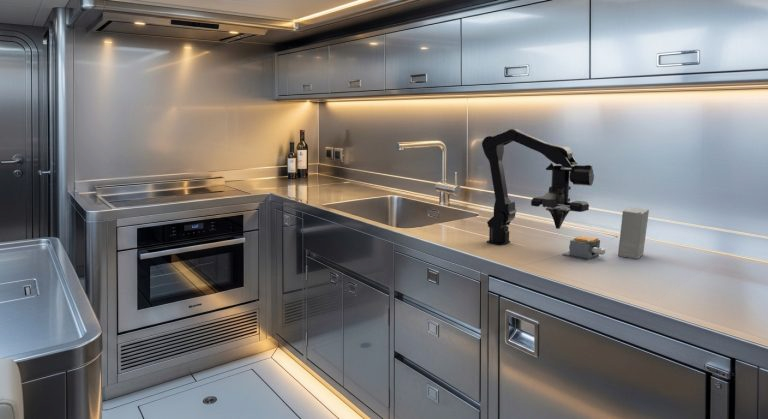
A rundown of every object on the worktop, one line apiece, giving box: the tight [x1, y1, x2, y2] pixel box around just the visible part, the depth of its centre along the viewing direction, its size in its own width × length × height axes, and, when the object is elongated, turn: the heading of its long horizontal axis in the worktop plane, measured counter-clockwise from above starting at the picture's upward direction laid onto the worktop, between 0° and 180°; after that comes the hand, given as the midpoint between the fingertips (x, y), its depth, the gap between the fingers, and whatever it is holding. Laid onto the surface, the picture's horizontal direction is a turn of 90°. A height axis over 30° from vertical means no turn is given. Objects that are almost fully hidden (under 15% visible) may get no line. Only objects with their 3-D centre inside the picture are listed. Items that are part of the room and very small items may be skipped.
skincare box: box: [617, 206, 650, 260], centre depth 178 cm, size 8×7×16 cm
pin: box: [568, 244, 606, 256], centre depth 177 cm, size 11×4×4 cm, turn 44°
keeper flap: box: [573, 235, 599, 243], centre depth 178 cm, size 6×4×1 cm
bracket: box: [561, 236, 601, 261], centre depth 179 cm, size 9×8×6 cm
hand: (557, 228), depth 184 cm, fingers closed
